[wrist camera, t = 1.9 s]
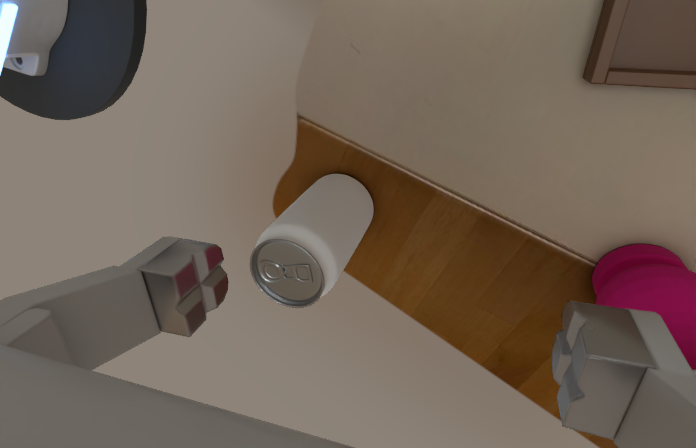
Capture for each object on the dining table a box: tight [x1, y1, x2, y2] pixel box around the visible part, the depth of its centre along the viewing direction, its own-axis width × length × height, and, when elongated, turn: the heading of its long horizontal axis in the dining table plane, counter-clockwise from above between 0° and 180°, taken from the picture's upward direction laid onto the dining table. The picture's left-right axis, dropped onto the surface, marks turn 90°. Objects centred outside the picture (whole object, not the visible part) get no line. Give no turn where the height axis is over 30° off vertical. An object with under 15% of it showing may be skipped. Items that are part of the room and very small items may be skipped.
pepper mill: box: [592, 244, 696, 376], centre depth 23 cm, size 7×7×20 cm
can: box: [250, 174, 374, 308], centre depth 32 cm, size 6×6×12 cm
